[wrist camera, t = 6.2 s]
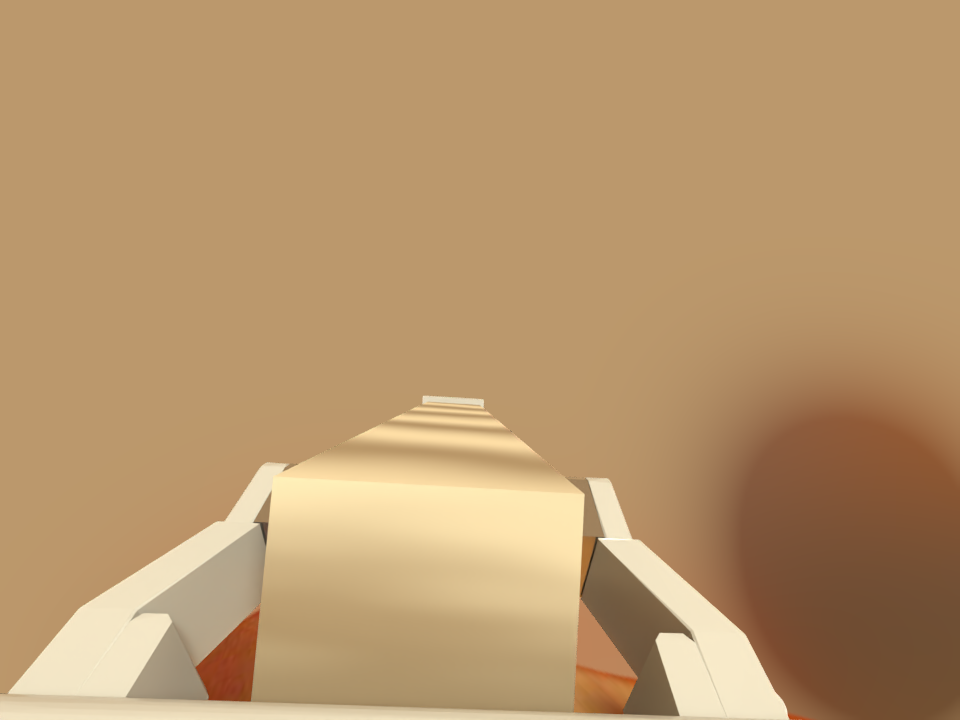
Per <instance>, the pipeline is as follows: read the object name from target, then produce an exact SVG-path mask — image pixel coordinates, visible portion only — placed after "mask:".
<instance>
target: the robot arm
mask: <svg viewBox="0 0 960 720" xmlns="http://www.w3.org/2000/svg"><path fill="white" fill-rule="evenodd" d="M296 465H298V464H281V463H269V462H267V463H266V464H264V465H263V466H261V467H260V469H259V470H258V471H257V473H256V475H255V476H254V477H253V479H252V481H251V482H250V484H249V485H248V487H247V488H246V490H245V491H244V493H243V494H242V496H241V497H240V499H239V500H238V502H237V503H236V505H235V506H234V508H233V510H232V511H231V513H230V514H229V516H228V517H227V518H226V520H225V521H224V522H215V523H214V524H212V525H211V526H209V527H208V528H206V529H205V530H203V531H201V532H200V533H198V534H196V535H195V536H193V537H192V538H190V539H188V540H187V541H185V542H184V543H182V544H181V545H179V546H177V547H176V548H174V549H173V550H171V551H169V552H168V553H166V554H165V555H163V556H161V557H160V558H159V559H157V560H155V561H153V562H152V563H150V564H149V565H147V566H145V567H144V568H142V569H141V570H139V571H138V572H136V573H135V574H133V575H131V576H130V577H128V578H127V579H125V580H123V581H122V582H120V583H118V584H117V585H115V586H114V587H112V588H111V589H109V590H107V591H106V592H104V593H103V594H101V595H99V596H98V597H96V598H95V599H93V600H91V601H90V602H88V603H87V604H85V605H84V606H82V607H80V608H79V609H78V610H77V612H76V613H75V614H74V615H73V616H72V618H71V619H70V620H69V621H68V622H67V623H66V625H65V626H64V627H63V628H62V630H61V631H60V632H59V633H58V634H57V635H56V636H55V638H54V639H53V640H52V641H51V642H50V644H49V645H48V646H47V647H46V648H45V650H44V651H43V652H42V653H41V654H40V655H39V657H38V658H37V659H36V660H35V661H34V663H33V664H32V665H31V666H30V667H29V668H28V670H27V671H26V672H25V673H24V675H23V676H22V677H21V678H20V679H19V680H18V682H17V683H16V684H15V685H14V686H13V688H12V689H11V690H10V691H9V692H8V693H7V694H5V693H4V694H3V693H0V720H789V718H788V716H787V714H786V712H785V710H784V708H783V706H782V705H781V703H780V701H779V699H778V697H777V695H776V693H775V691H774V689H773V688H772V685H771V684H770V682H769V679H768V678H767V676H766V674H765V672H764V670H763V668H762V666H761V664H760V662H759V660H758V658H757V656H756V654H755V652H754V651H753V649H752V647H751V645H750V643H749V641H748V639H747V637H746V635H745V634H744V633H743V632H742V631H741V630H740V629H739V628H737V627H736V626H735V625H734V624H733V623H732V622H731V621H730V620H728V619H727V618H726V617H725V616H724V615H723V614H722V613H720V612H719V611H718V610H717V609H716V608H715V607H714V606H713V605H712V604H711V603H709V602H708V601H707V600H706V599H705V598H704V597H703V596H701V595H700V594H699V593H698V592H697V591H696V590H695V589H694V588H693V587H691V586H690V585H689V584H688V583H687V582H686V581H685V580H684V579H682V578H681V577H680V576H679V575H678V574H677V573H676V572H675V571H673V570H672V569H671V568H670V567H669V566H668V565H667V564H666V563H665V562H663V561H662V560H661V559H660V558H659V557H658V556H657V555H655V553H653V552H652V551H651V550H650V549H649V548H648V547H647V546H646V545H644V544H643V543H642V542H641V541H640V540H633V539H632V537H631V535H630V532H629V529H628V526H627V524H626V521H625V518H624V516H623V513H622V511H621V508H620V505H619V502H618V500H617V497H616V494H615V492H614V489H613V487H612V484H611V482H610V480H609V479H608V478H577V477H576V478H575V477H565V478H566V479H567V480H569V481H570V482H571V483H572V484H573V485H574V486H576V487H577V488H578V489H579V490H580V491H581V492H583V493H584V494H585V496H584V516H583V536H582V556H581V576H580V596H579V597H581V600H582V601H583V602H584V603H585V605H586V606H587V608H588V609H589V610H590V612H591V613H592V615H593V616H594V617H595V619H596V620H597V622H598V623H599V624H600V625H601V627H602V628H603V630H604V631H605V632H606V634H607V635H608V637H609V638H610V639H611V641H612V642H613V644H614V645H615V646H616V648H617V649H618V650H619V652H620V653H621V654H622V656H623V657H624V659H625V660H626V661H627V663H628V664H629V666H630V667H631V668H632V669H633V671H634V672H635V674H636V675H637V677H638V679H637V681H636V684H635V686H634V688H633V690H632V692H631V694H630V697H629V699H628V701H627V703H626V705H625V707H624V709H623V713H624V714H601V713H572V712H543V711H514V710H484V709H455V708H426V707H396V706H366V705H336V704H306V703H276V702H246V701H216V700H208V698H209V696H208V693H207V689H206V687H205V685H204V683H203V681H202V679H201V677H200V676H199V674H198V672H197V670H196V668H195V667H196V666H197V665H198V664H199V663H200V662H201V661H202V660H203V659H204V658H205V657H206V656H207V655H208V654H209V653H210V652H211V651H212V650H213V649H214V648H215V647H216V646H217V645H218V644H220V643H221V642H222V641H223V640H224V639H225V638H226V637H227V636H228V635H229V634H230V633H231V632H232V631H233V630H234V629H235V628H236V627H237V626H238V625H239V624H240V623H241V622H242V621H243V620H244V619H245V618H246V617H247V616H248V615H249V614H250V613H251V612H252V611H253V610H254V609H255V608H256V607H257V606H258V605H259V604H260V603H261V595H262V585H263V575H264V565H265V555H266V545H267V534H268V524H269V514H270V504H271V494H272V484H273V476H275V475H277V474H279V473H281V472H283V471H286V470H288V469H290V468H292V467H294V466H296Z"/></svg>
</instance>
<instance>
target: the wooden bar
mask: <svg viewBox="0 0 960 720" xmlns="http://www.w3.org/2000/svg"><path fill="white" fill-rule="evenodd" d="M584 496H585V494H584V493H583V492H581V491H580V490H579V489H578V488H577V487H576V486H574V485H573V484H572V483H571V482H570V481H569V480H567V479H566V478H565V477H564V476H562V475H561V474H560V473H559V472H558V471H557V470H556V469H554V468H553V467H552V466H551V465H549V463H547V462H546V461H545V460H544V459H543V458H541V457H540V456H539V455H538V454H536V452H534V451H533V450H532V449H531V448H530V447H528V446H527V445H526V444H525V443H524V442H523V441H521V440H520V439H519V438H518V437H517V436H516V435H514V434H513V433H512V432H511V431H510V430H508V429H507V428H506V427H505V426H504V425H503V424H501V423H500V422H499V421H498V420H497V419H496V418H494V417H493V416H492V415H491V414H490V413H488V412H487V411H486V410H485V409H484V408H483V407H481V406H480V405H472V404H456V403H441V402H426V403H424V404H422V405H420V406H418V407H416V408H413V409H411V410H409V411H407V412H405V413H403V414H401V415H399V416H397V417H395V418H393V419H391V420H389V421H387V422H385V423H382V424H381V425H378V426H377V427H374V428H372V429H370V430H369V431H366V432H364V433H362V434H360V435H358V436H356V437H354V438H352V439H350V440H348V441H346V442H343V443H341V444H339V445H337V446H335V447H333V448H331V449H329V450H327V451H325V452H323V453H321V454H319V455H317V456H314V457H313V458H310V459H308V460H306V461H304V462H302V463H300V464H298V465H296V466H294V467H292V468H290V469H288V470H286V471H283V472H281V473H279V474H277V475H275V476H273V484H272V494H271V504H270V514H269V524H268V534H267V545H266V555H265V565H264V575H263V585H262V595H261V605H260V616H259V626H258V636H257V646H256V656H255V666H254V677H253V687H252V697H251V702H276V703H306V704H336V705H366V706H396V707H426V708H455V709H484V710H514V711H543V712H572V713H574V695H575V675H576V655H577V635H578V615H579V596H580V576H581V556H582V536H583V516H584Z"/></svg>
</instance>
